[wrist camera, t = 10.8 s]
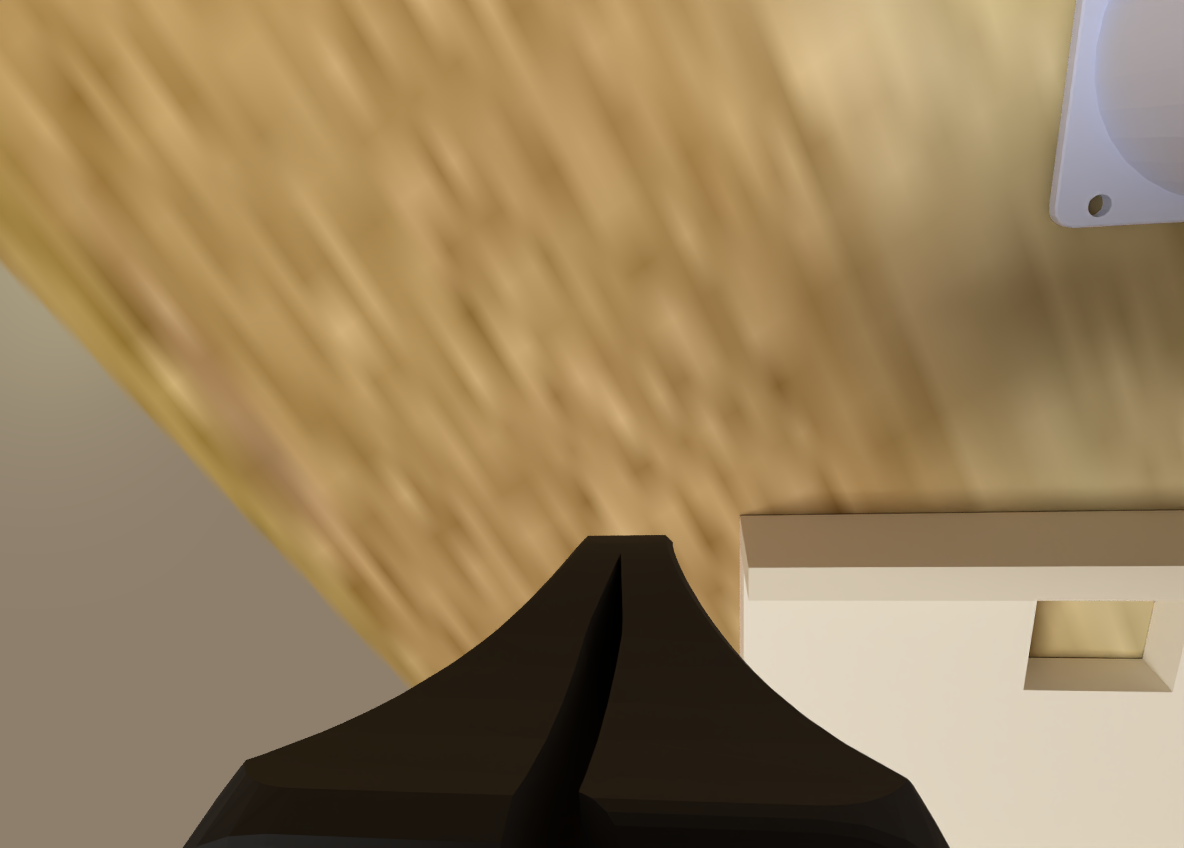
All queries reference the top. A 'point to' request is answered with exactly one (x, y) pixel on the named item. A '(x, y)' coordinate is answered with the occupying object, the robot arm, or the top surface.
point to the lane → (982, 664)
